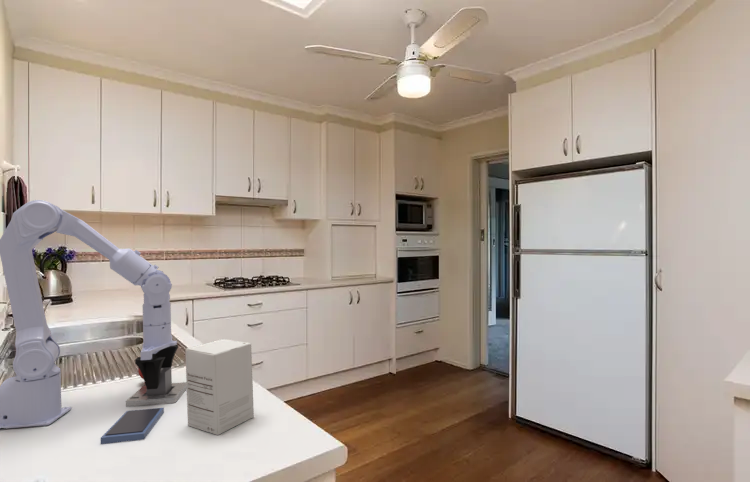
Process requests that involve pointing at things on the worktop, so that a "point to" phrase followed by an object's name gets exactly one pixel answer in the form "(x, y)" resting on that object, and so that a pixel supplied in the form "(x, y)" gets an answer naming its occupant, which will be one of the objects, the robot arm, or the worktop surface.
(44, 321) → the robot arm
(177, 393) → the plate
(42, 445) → the worktop surface
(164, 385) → the block
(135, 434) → the phone
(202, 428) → the supplement box
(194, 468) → the worktop surface
